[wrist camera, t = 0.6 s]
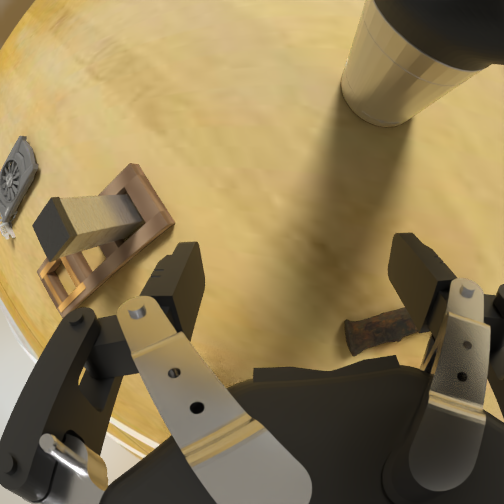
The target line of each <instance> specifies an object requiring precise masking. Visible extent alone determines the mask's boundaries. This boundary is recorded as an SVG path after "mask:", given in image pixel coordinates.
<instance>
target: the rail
mask: <svg viewBox="0 0 504 504" xmlns="http://www.w3.org/2000/svg"><path fill="white" fill-rule="evenodd" d="M126 193H128V194H129V196H130V198H131V199H132V201H133V203H134V204H135V206H136V208H137V209H138V211H139V212H140V214H141V216H142V217H143V219H144V221H145V222H146V224H144V225H143V226H142V227H141V228H140V229H139V230H138V231H136V232H135V233H134V234H133V235H132V236H131V237H130V238H129V239H127V240H126V241H125V242H124V240H123V239H121V240H117V241H114V242H110V243H107V244H103V245H100V246H99V247H100V248H101V250H102V252H103V254H104V255H105V257H106V260H105V261H104V262H103V263H102V264H101V265H99V266H98V267H97V268H96V269H95V270H94V271H93V272H92V270H91V268H90V267H89V265H88V263H87V262H86V260H85V258H84V256H83V254H82V253H81V251H80V252H77V253H74V254H70V255H67V256H64V257H61V258H58V259H57V260H56V261H53V262H49V260H48V258H46V259H45V261H44V262H43V264H42V265H41V266H40V268H39V269H38V271H37V273H38V275H39V277H40V279H41V281H42V283H43V285H44V287H45V288H46V290H47V292H48V294H49V296H50V298H51V299H52V301H53V303H54V305H55V306H56V308H57V310H58V311H59V313H60V315H61V316H62V318H64V317H65V316H66V315H67V314H68V313H70V312H71V311H73V310H75V309H76V308H77V307H78V306H79V305H80V304H81V303H82V302H83V301H84V300H85V299H86V298H88V297H89V296H90V295H91V294H92V293H93V292H94V291H95V290H96V289H97V288H98V287H100V286H101V285H102V284H103V283H104V282H105V281H106V280H107V279H109V278H110V277H111V276H112V275H113V274H114V273H115V272H116V271H118V270H119V269H120V268H121V267H122V266H123V265H124V264H126V263H127V262H128V261H129V260H130V259H132V258H133V257H134V256H135V255H136V254H137V253H139V252H140V251H141V250H142V249H143V248H145V247H146V246H147V245H148V244H149V243H151V242H152V241H153V240H154V239H155V238H157V237H158V236H159V235H160V234H162V233H163V232H164V231H165V230H167V229H168V228H169V227H170V226H172V225H173V224H174V223H175V222H174V220H173V218H172V217H171V215H170V214H169V212H168V211H167V209H166V208H165V206H164V204H163V203H162V201H161V200H160V198H159V197H158V195H157V193H156V192H155V190H154V189H153V187H152V185H151V184H150V182H149V181H148V179H147V177H146V176H145V174H144V173H143V171H142V169H141V168H140V166H139V164H132V163H130V164H129V165H128V166H127V167H126V168H125V169H124V170H123V171H122V172H121V173H120V174H119V175H118V176H117V177H116V178H115V179H114V180H113V181H112V182H111V183H110V184H109V185H108V186H107V187H106V188H105V189H104V190H103V191H102V192H101V193H100V194H99V195H98V196H104V195H125V194H126ZM62 262H63V264H64V266H65V268H66V270H67V272H68V273H69V275H70V277H71V279H72V280H73V282H74V284H75V286H76V287H77V288H76V289H75V290H74V291H73V292H72V293H71V294H70V295H69V296H68V294H67V292H66V291H65V289H64V287H63V285H62V284H61V282H60V280H59V278H58V276H57V274H56V273H55V270H56V269H57V268H58V266H59V265H60V264H61V263H62Z"/></svg>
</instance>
